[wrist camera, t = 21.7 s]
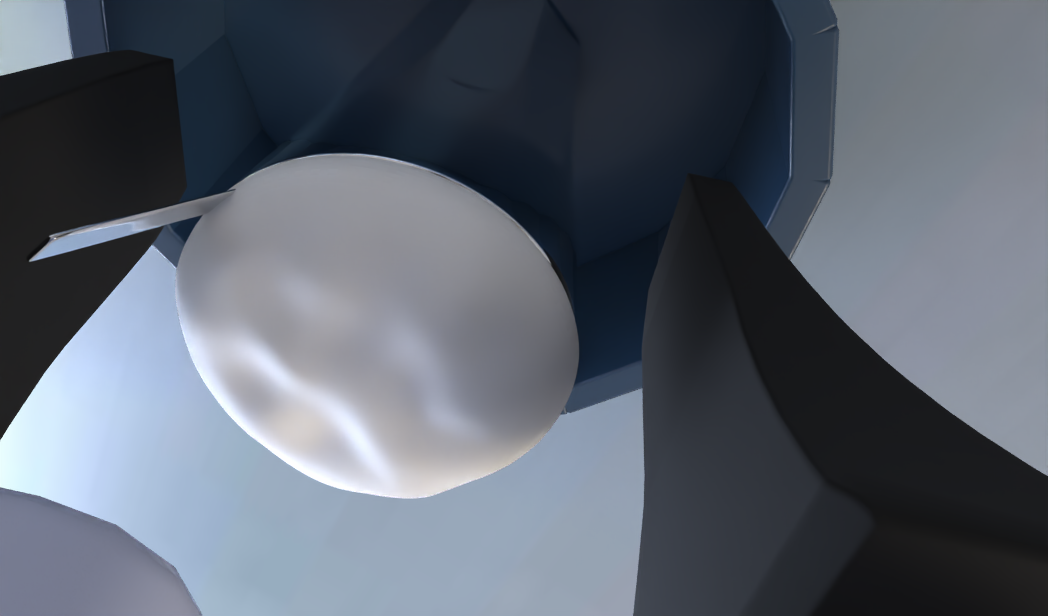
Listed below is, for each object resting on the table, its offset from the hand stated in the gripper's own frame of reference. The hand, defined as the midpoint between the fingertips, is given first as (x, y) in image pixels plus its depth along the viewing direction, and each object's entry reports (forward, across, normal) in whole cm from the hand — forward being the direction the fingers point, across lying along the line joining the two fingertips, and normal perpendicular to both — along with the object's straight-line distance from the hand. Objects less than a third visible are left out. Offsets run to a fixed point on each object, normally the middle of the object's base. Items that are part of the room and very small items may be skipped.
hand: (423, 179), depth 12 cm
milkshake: (+5, 0, 0) cm, 5 cm away
